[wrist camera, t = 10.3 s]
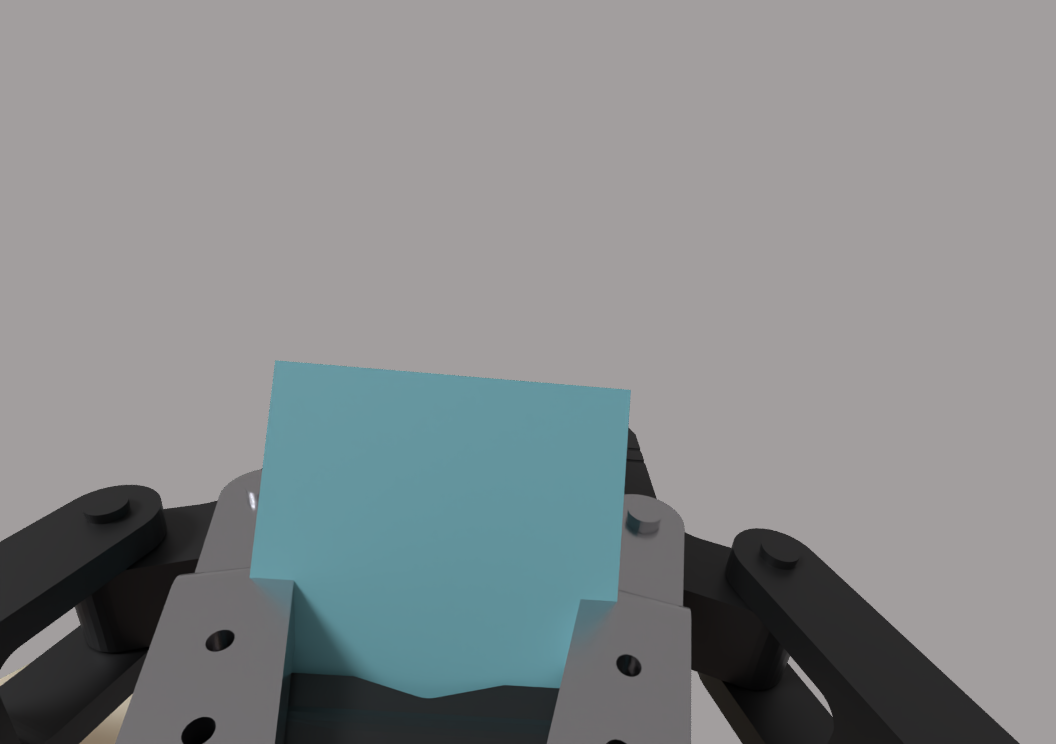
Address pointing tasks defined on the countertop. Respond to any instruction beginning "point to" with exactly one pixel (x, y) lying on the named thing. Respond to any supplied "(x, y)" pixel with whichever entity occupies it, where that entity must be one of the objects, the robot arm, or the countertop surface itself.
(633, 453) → the robot arm
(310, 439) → the teal bar
